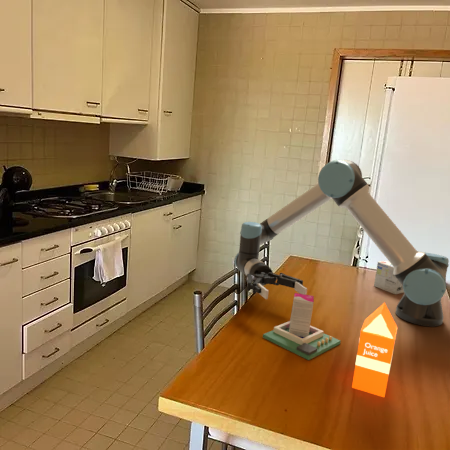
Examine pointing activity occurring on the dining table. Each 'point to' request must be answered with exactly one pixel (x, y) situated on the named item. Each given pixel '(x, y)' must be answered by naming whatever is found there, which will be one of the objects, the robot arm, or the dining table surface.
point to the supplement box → (301, 315)
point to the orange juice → (375, 352)
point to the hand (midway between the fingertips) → (286, 293)
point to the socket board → (302, 341)
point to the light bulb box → (387, 278)
